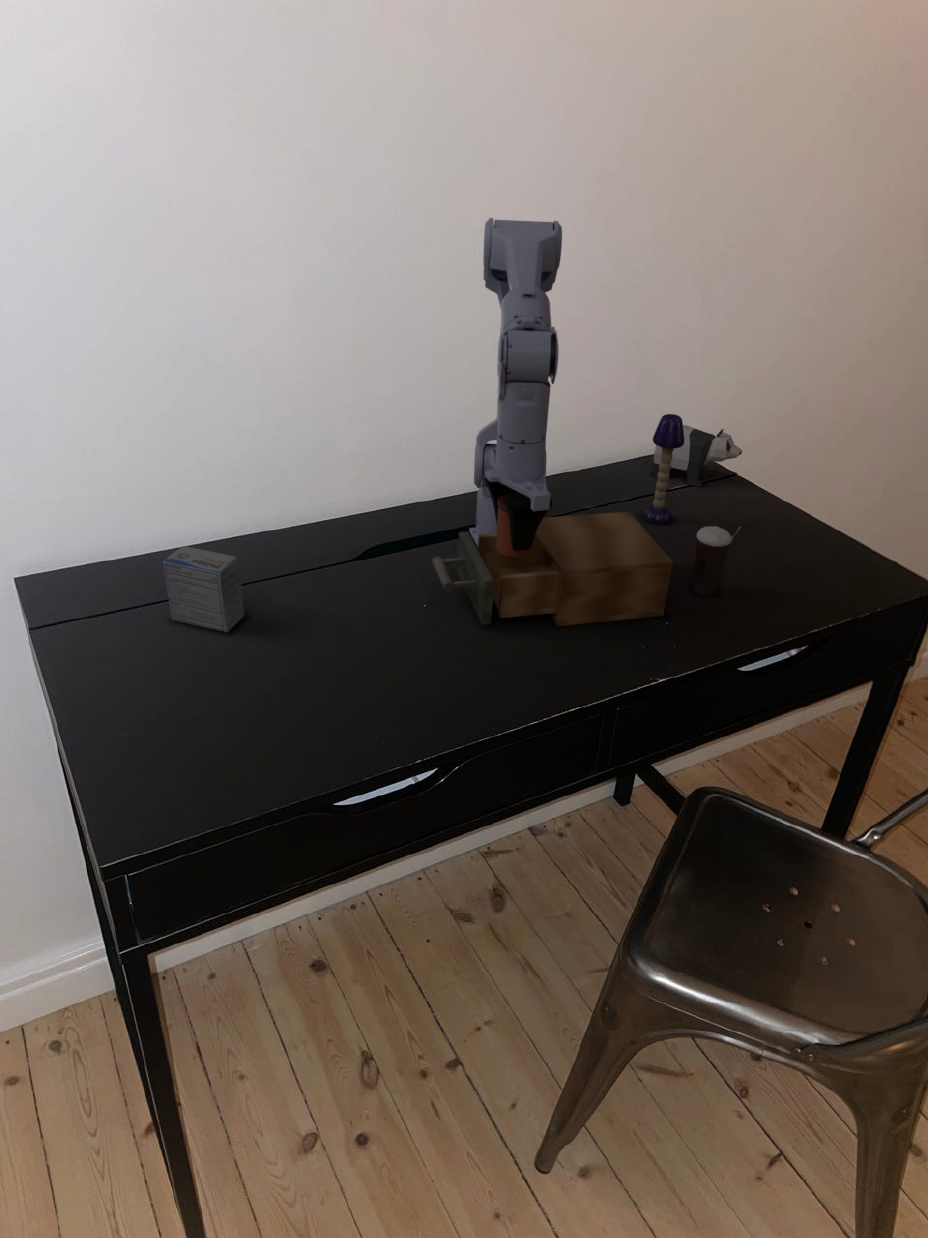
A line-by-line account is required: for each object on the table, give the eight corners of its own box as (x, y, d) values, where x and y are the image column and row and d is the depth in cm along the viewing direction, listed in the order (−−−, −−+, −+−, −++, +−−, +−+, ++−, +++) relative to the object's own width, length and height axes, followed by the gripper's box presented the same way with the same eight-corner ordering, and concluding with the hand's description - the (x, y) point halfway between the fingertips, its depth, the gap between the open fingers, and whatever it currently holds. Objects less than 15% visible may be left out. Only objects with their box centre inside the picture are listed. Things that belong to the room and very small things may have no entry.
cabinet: (556, 626, 121) (562, 570, 117) (523, 571, 133) (528, 518, 129) (663, 616, 124) (673, 561, 120) (621, 562, 136) (629, 511, 132)
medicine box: (245, 617, 120) (239, 556, 116) (226, 634, 117) (220, 572, 112) (190, 604, 122) (183, 544, 118) (170, 621, 119) (161, 559, 114)
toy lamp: (673, 526, 147) (691, 422, 138) (643, 525, 147) (659, 421, 138) (668, 513, 151) (685, 411, 142) (638, 511, 151) (653, 410, 142)
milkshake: (727, 600, 128) (741, 534, 123) (686, 595, 129) (699, 528, 124) (726, 584, 132) (740, 519, 127) (686, 579, 133) (699, 514, 128)
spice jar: (489, 542, 120) (492, 495, 117) (523, 538, 121) (527, 491, 118) (502, 559, 116) (505, 510, 113) (537, 554, 118) (541, 506, 114)
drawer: (448, 628, 118) (449, 584, 115) (426, 576, 129) (427, 534, 126) (584, 615, 122) (589, 572, 119) (551, 565, 133) (555, 524, 130)
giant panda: (645, 475, 164) (653, 421, 159) (656, 464, 168) (664, 412, 163) (729, 495, 158) (740, 440, 153) (738, 483, 162) (749, 430, 157)
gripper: (468, 416, 116) (464, 518, 123) (512, 461, 104) (504, 571, 111) (522, 412, 118) (515, 512, 125) (571, 456, 106) (560, 563, 113)
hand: (513, 539), depth 118 cm, fingers closed on spice jar, 4 cm apart
